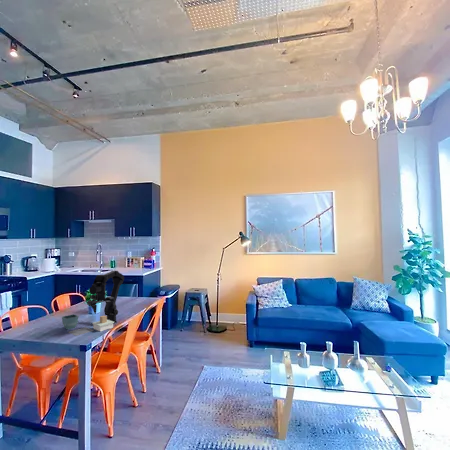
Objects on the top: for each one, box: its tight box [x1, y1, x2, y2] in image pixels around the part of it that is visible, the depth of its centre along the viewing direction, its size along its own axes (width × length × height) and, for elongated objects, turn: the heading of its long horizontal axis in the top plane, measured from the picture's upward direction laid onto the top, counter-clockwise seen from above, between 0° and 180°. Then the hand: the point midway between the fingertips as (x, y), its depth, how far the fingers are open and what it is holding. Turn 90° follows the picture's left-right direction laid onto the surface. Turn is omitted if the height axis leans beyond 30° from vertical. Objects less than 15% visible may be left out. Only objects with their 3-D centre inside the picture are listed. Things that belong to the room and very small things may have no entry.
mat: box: [67, 326, 95, 337], centre depth 199 cm, size 13×13×1 cm
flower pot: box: [61, 314, 79, 330], centre depth 207 cm, size 9×9×9 cm
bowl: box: [92, 323, 114, 332], centre depth 205 cm, size 10×10×4 cm
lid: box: [92, 314, 115, 327], centre depth 205 cm, size 11×11×5 cm
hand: (101, 312), depth 206 cm, fingers open, 9 cm apart
